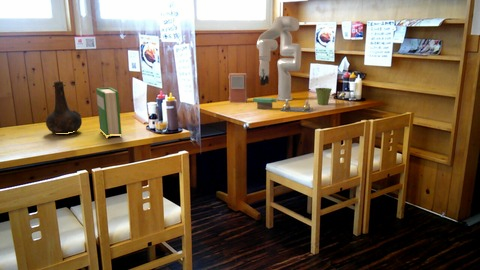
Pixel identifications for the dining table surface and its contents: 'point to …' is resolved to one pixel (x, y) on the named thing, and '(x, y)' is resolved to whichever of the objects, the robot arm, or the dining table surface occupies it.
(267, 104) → the walnut stand
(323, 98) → the plant pot
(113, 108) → the hardback book
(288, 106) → the chassis
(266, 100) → the circuit board
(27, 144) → the dining table surface
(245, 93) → the control panel
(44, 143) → the dining table surface
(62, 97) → the glass bottle
